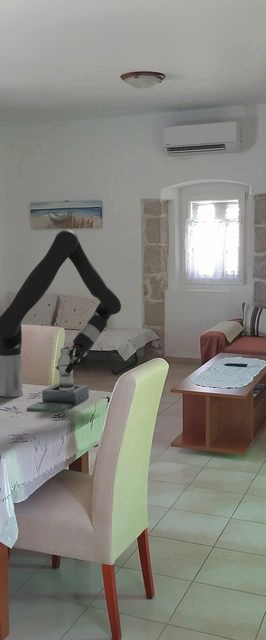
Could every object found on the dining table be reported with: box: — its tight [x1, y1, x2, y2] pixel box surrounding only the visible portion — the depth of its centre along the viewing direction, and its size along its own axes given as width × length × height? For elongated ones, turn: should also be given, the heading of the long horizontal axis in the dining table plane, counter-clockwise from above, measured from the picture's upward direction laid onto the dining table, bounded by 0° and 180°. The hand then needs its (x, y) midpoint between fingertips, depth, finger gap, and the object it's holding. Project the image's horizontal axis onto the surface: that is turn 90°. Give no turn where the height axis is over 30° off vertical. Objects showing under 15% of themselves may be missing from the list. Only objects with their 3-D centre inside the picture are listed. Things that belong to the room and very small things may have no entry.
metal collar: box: [41, 383, 90, 406], centre depth 256 cm, size 14×13×5 cm
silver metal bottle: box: [57, 347, 75, 391], centre depth 254 cm, size 6×7×20 cm
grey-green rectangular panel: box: [26, 401, 72, 414], centre depth 244 cm, size 14×9×1 cm, turn 71°
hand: (62, 370), depth 253 cm, fingers closed on silver metal bottle, 6 cm apart
